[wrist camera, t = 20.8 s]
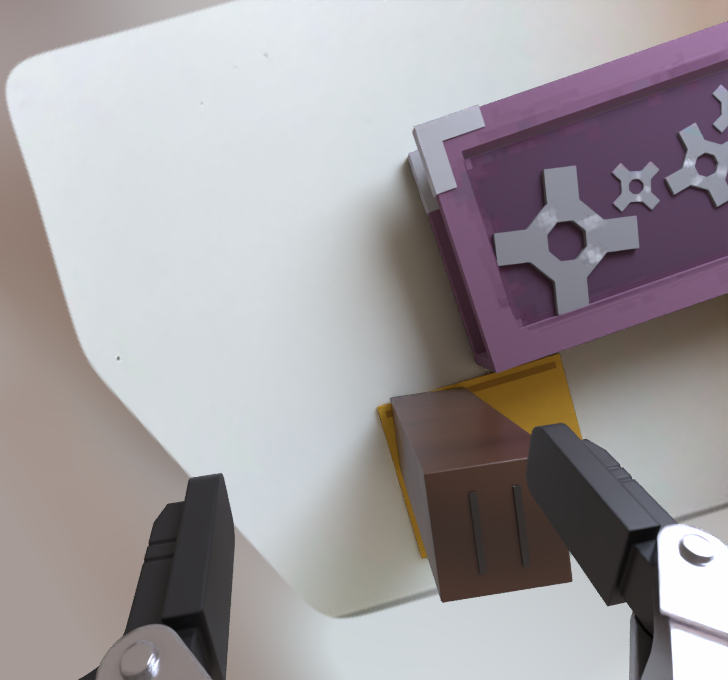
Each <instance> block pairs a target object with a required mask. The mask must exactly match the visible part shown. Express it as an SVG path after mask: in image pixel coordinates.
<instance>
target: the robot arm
mask: <svg viewBox="0 0 728 680" xmlns="http://www.w3.org/2000/svg"><path fill="white" fill-rule="evenodd" d="M526 480H527V485H528V488H529V490H530V493H531V495H532V496H533V498H534V499H535V501H536V502H537V504H538V505H539V507H540V508H541V509H542V511H543V512H544V514H545V515H546V517H547V518H548V520H549V521H550V523H551V524H552V526H553V527H554V529H555V530H556V531H557V533H558V534H559V536H560V537H561V539H562V540H563V542H564V543H565V545H566V546H567V548H568V549H569V551H570V552H571V553H572V555H573V556H574V558H575V559H576V561H577V562H578V564H579V565H580V567H581V568H582V569H583V571H584V573H585V574H586V575H587V577H588V578H589V580H590V581H591V583H592V584H593V586H594V587H595V589H596V590H597V592H598V593H599V594H600V596H601V597H602V599H603V600H604V602H605V603H606V605H607V606H611V605H616V604H620V603H625V602H627V604H628V605H629V607H630V608H631V609H632V611H633V612H632V615H631V620H630V671H629V680H728V547H727V546H726V545H725V544H724V543H723V542H722V541H721V540H719V539H718V538H716V537H715V536H714V535H712V534H710V533H708V532H706V531H704V530H702V529H700V528H696V527H694V526H689V525H684V524H678V523H677V522H676V521H675V520H674V519H673V518H672V517H671V516H670V515H669V514H668V513H667V512H666V511H665V510H664V509H663V508H662V507H661V506H660V505H659V504H658V503H657V502H656V501H655V500H654V499H653V498H652V497H651V496H650V495H649V494H648V493H647V492H646V491H645V490H644V489H643V487H642V486H641V485H640V484H639V483H638V482H637V481H636V480H635V479H634V480H633V479H632V476H631V475H630V474H629V473H628V472H627V471H626V470H625V469H624V468H621V467H620V464H619V463H618V462H617V461H616V460H615V459H614V458H613V457H612V456H611V455H610V454H609V453H608V452H607V451H606V450H605V449H603V448H601V447H599V446H598V445H596V444H594V443H593V442H591V441H589V440H587V439H583V440H581V439H580V438H579V437H578V436H577V435H576V434H575V433H574V432H573V431H572V430H571V429H570V428H569V427H568V426H567V425H566V424H565V423H557V424H550V425H543V426H537V427H534V428H533V430H532V433H531V439H530V446H529V453H528V460H527V466H526ZM234 546H235V534H234V523H233V517H232V513H231V508H230V503H229V499H228V494H227V490H226V485H225V480H224V477H223V474H222V473H219V474H212V475H206V476H199V477H193V478H190V479H189V481H188V486H187V491H186V496H185V501H183V502H177V503H170V504H167V505H166V507H165V508H164V510H163V511H162V512H161V514H160V515H159V516H158V518H157V519H156V520H155V522H154V524H153V528H152V531H151V535H150V539H149V546H148V547H147V551H146V554H145V558H144V563H143V565H142V570H141V573H140V577H139V581H138V585H137V588H136V592H135V596H134V600H133V603H132V607H131V611H130V615H129V618H128V622H127V626H126V629H125V632H124V634H123V637H121V638H120V639H119V640H118V641H117V642H116V643H115V644H114V645H113V646H112V647H111V648H110V649H109V650H108V652H107V653H106V654H105V656H104V657H103V659H102V661H101V663H100V665H99V666H98V667H97V668H96V669H94V670H93V671H92V672H90V673H89V674H87V675H85V676H84V677H82V678H80V679H79V680H226V666H227V651H228V637H229V622H230V607H231V592H232V578H233V563H234V562H233V561H234V548H235V547H234Z"/></svg>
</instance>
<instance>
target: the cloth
mask: <svg viewBox="0 0 728 680" xmlns="http://www.w3.org/2000/svg"><path fill="white" fill-rule="evenodd" d="M458 387H465V388H466V389H468V390H469V391H470V392H472V393H473V394H475V395H476V396H477V397H479V398H480V399H482V400H483V401H484V402H486V403H487V404H489V405H490V406H491V407H493V408H494V409H496V410H497V411H498V412H500V413H501V414H503V415H504V416H506V417H507V418H508V419H510V420H511V421H513V422H514V423H515V424H517V425H518V426H520V427H521V428H522V429H524V430H525V431H527V432H528V433H529V434H531V433H532V430H533V428H534V427H537V426H543V425H550V424H557V423H565V424H566V425H567V426H568V427H569V428H570V429H571V430H572V431H573V432H574V433H575V434H576V435H577V436H578V437H579V438H580V439H581V440H582V436H581V433H580V429H579V425H578V421H577V418H576V414H575V410H574V406H573V402H572V399H571V395H570V391H569V387H568V384H567V380H566V376H565V372H564V369H563V365H562V361H561V357H560V354H559V353H557V354H554V355H550V356H547V357H544V358H540V359H537V360H534V361H531V362H528V363H525V364H522V365H519V366H516V367H513V368H510V369H508V370H505V371H502V372H499V373H495V372H493V373H490V374H486V375H483V376H480V377H476V378H473V379H470V380H466V381H463V382H459V383H456V384H453V385H449V386H446V387H443V388H439V389H436V390H432V391H438V390H445V389H451V388H458ZM432 391H429V392H432ZM377 409H378V412H379V416H380V419H381V422H382V426H383V429H384V433H385V436H386V439H387V443H388V446H389V449H390V453H391V456H392V460H393V463H394V466H395V470H396V473H397V476H398V480H399V483H400V487H401V490H402V493H403V497H404V500H405V504H406V507H407V510H408V514H409V517H410V520H411V524H412V527H413V531H414V534H415V537H416V541H417V544H418V547H419V551H420V554H421V558H422V559H423V558H427V554H426V551H425V547H424V544H423V541H422V538H421V534H420V531H419V528H418V525H417V522H416V518H415V515H414V512H413V509H412V505H411V502H410V499H409V496H408V493H407V489H406V486H405V483H404V480H403V476H402V473H401V470H400V464H399V457H398V450H397V443H396V436H395V429H394V422H393V415H392V408H391V403H389V404H385V405H382V406H379V407H377Z"/></svg>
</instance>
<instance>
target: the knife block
mask: <svg viewBox="0 0 728 680" xmlns="http://www.w3.org/2000/svg"><path fill="white" fill-rule="evenodd" d="M390 401H391V408H392V415H393V422H394V429H395V436H396V443H397V450H398V457H399V464H400V470H401V473H402V476H403V480H404V483H405V486H406V489H407V493H408V496H409V499H410V502H411V505H412V509H413V512H414V515H415V518H416V522H417V525H418V528H419V531H420V534H421V538H422V541H423V544H424V547H425V551H426V554H427V557H428V560H429V563H430V567H431V570H432V573H433V576H434V579H435V583H436V586H437V589H438V592H439V596H440V599H441V601H442V602H448V601H455V600H462V599H468V598H474V597H480V596H486V595H493V594H499V593H505V592H511V591H518V590H524V589H530V588H536V587H543V586H549V585H555V584H562V583H568V582H572V572H571V564H570V555H569V549H568V548H567V546H566V545H565V543H564V542H563V540H562V539H561V537H560V536H559V534H558V533H557V531H556V530H555V529H554V527H553V526H552V524H551V523H550V521H549V520H548V518H547V517H546V515H545V514H544V512H543V511H542V509H541V508H540V507H539V505H538V504H537V502H536V501H535V499H534V498H533V496H532V495H531V493H530V490H529V488H528V485H527V480H526V466H527V460H528V453H529V446H530V439H531V434H529V433H528V432H527V431H525V430H524V429H522V428H521V427H520V426H518V425H517V424H515V423H514V422H513V421H511V420H510V419H508V418H507V417H506V416H504V415H503V414H501V413H500V412H498V411H497V410H496V409H494V408H493V407H491V406H490V405H489V404H487V403H486V402H484V401H483V400H482V399H480V398H479V397H477V396H476V395H475V394H473V393H472V392H470V391H469V390H468V389H466V388H465V387H458V388H451V389H445V390H438V391H432V392H425V393H418V394H412V395H405V396H398V397H392V398H390Z"/></svg>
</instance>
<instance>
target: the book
mask: <svg viewBox="0 0 728 680" xmlns="http://www.w3.org/2000/svg"><path fill="white" fill-rule="evenodd" d="M412 133H413V136H414V139H415V142H416V145H417V148H418V150H417V151H414V152H411V153H409V155H408V160H409V163H410V166H411V169H412V172H413V176H414V179H415V182H416V185H417V188H418V191H419V194H420V197H421V200H422V203H423V206H424V209H425V212H426V215H428V218H429V221H430V224H431V227H432V230H433V233H434V236H435V239H436V242H437V245H438V248H439V251H440V254H441V257H442V260H443V263H444V266H445V269H446V272H447V275H448V278H449V281H450V284H451V287H452V290H453V293H454V296H455V300H456V303H457V306H458V309H459V312H460V315H461V318H462V321H463V324H464V327H465V330H466V333H467V336H468V339H469V342H470V345H471V348H472V351H473V354H474V357H475V360H476V363H477V365H479V366H482V367H484V368H486V369H488V370H491V371H493V372H495V373H499V372H502V371H505V370H508V369H510V368H513V367H516V366H519V365H522V364H525V363H528V362H531V361H533V360H536V359H539V358H542V357H545V356H548V355H551V354H554V353H556V352H559V351H562V350H565V349H568V348H571V347H574V346H577V345H579V344H582V343H585V342H588V341H591V340H594V339H597V338H599V337H602V336H605V335H608V334H611V333H614V332H617V331H620V330H622V329H625V328H628V327H631V326H634V325H637V324H640V323H643V322H645V321H648V320H651V319H654V318H657V317H660V316H663V315H666V314H668V313H671V312H674V311H677V310H680V309H683V308H686V307H689V306H691V305H694V304H697V303H700V302H703V301H706V300H709V299H711V298H714V297H717V296H720V295H723V294H726V293H728V21H727V22H724V23H721V24H718V25H715V26H712V27H710V28H707V29H704V30H701V31H698V32H695V33H692V34H689V35H686V36H683V37H681V38H678V39H675V40H672V41H669V42H666V43H663V44H660V45H657V46H655V47H652V48H649V49H646V50H643V51H640V52H637V53H634V54H631V55H628V56H626V57H623V58H620V59H617V60H614V61H611V62H608V63H605V64H602V65H599V66H597V67H594V68H591V69H588V70H585V71H582V72H579V73H576V74H573V75H570V76H568V77H565V78H562V79H559V80H556V81H553V82H550V83H547V84H544V85H541V86H539V87H536V88H533V89H530V90H527V91H524V92H521V93H518V94H515V95H512V96H510V97H507V98H504V99H501V100H498V101H495V102H492V103H489V104H486V105H484V106H481V107H479V105H475V106H472V107H469V108H467V109H464V110H461V111H458V112H455V113H452V114H449V115H446V116H443V117H440V118H437V119H435V120H432V121H429V122H426V123H423V124H420V125H417V126H414V129H413V132H412Z"/></svg>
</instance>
